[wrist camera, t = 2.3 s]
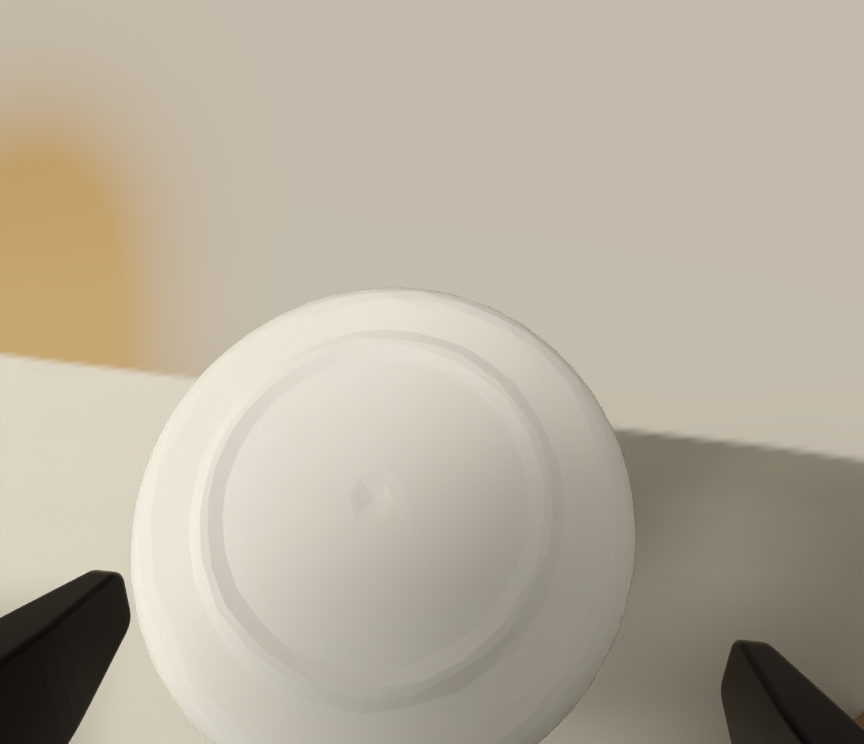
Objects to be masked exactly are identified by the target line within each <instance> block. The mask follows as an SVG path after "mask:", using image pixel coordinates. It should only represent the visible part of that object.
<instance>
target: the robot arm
mask: <svg viewBox="0 0 864 744" xmlns="http://www.w3.org/2000/svg"><path fill="white" fill-rule="evenodd" d="M129 624H130V608H129V603H128V598H127V593H126V588H125V583H124V579H123V577H122V576H121V575H120V573H117V572H111V571H102V570H93V571H90V572H88V573H86V574H84V575H82V576H80V577H78V578H76V579H74V580H72V581H70V582H68V583H66V584H65V585H63V586H61V587H59V588H57V589H55V590H53V591H51V592H49V593H47V594H45V595H43V596H41V597H39V598H38V599H36V600H34V601H32V602H30V603H28V604H26V605H24V606H22V607H20V608H18V609H16V610H14V611H12V612H11V613H9V614H7V615H5V616H3V617H1V618H0V744H68V743H69V742H70V740H71V738H72V737H73V735H74V733H75V732H76V730H77V728H78V726H79V724H80V723H81V721H82V719H83V717H84V715H85V713H86V711H87V709H88V707H89V705H90V703H91V701H92V700H93V698H94V696H95V694H96V692H97V690H98V688H99V686H100V684H101V682H102V680H103V678H104V676H105V674H106V672H107V670H108V668H109V666H110V664H111V662H112V660H113V658H114V656H115V654H116V652H117V650H118V648H119V646H120V644H121V642H122V640H123V638H124V636H125V634H126V632H127V630H128V627H129ZM721 696H722V703H723V707H724V712H725V716H726V721H727V725H728V730H729V734H730V739H731V743H732V744H864V729H863V728H862V727H861V726H860V725H859V724H857V723H856V722H855V721H854V720H853V719H852V718H851V717H850V716H849V715H847V714H846V713H845V712H844V711H843V710H842V709H841V708H840V707H839V706H837V705H836V704H835V703H834V702H833V701H832V700H831V699H830V698H829V697H827V696H826V695H825V694H824V693H823V692H822V691H821V690H820V689H819V688H817V687H816V686H815V685H814V684H813V683H812V682H811V681H810V680H809V679H807V678H806V677H805V676H804V675H803V674H802V673H801V672H800V671H799V670H797V669H796V668H795V667H794V666H793V665H792V664H791V663H790V662H789V661H787V660H786V659H785V658H784V657H783V656H782V655H781V654H780V653H779V652H777V651H776V650H775V649H774V648H773V647H772V646H770V645H769V644H767V643H764V642H757V641H748V640H737V641H735V642H734V643H733V645H732V647H731V651H730V654H729V658H728V661H727V665H726V668H725V672H724V675H723V679H722V684H721Z"/></svg>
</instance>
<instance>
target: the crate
mask: <svg viewBox="0 0 864 744" xmlns="http://www.w3.org/2000/svg"><path fill="white" fill-rule="evenodd" d="M855 722H856V723H857V724H859V725H860V726H861V727H862V728H863V729H864V714H863V715H861V716H860V717H859V718H858V719H857V720H855Z"/></svg>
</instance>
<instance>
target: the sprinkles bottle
mask: <svg viewBox="0 0 864 744" xmlns="http://www.w3.org/2000/svg"><path fill="white" fill-rule="evenodd" d="M635 541H636V531H635V519H634V507H633V498H632V492H631V486H630V481H629V475H628V472H627V468H626V465H625V461H624V458H623V455H622V451H621V448H620V446H619V443H618V440H617V438H616V435H615V433H614V430H613V428H612V427H611V425H610V423H609V421H608V419H607V417H606V415H605V413H604V411H603V409H602V408H601V406H600V404H599V403H598V401H597V400H596V398H595V396H594V395H593V393H592V391H591V390H590V389H589V387H588V386H587V385H586V384H585V382H584V381H583V380H582V379H581V377H580V376H579V375H578V373H577V372H576V371H575V370H574V368H573V367H572V366H571V365H570V364H569V363H568V362H566V360H565V359H564V358H563V357H561V356H560V354H559V353H558V352H557V351H556V350H555V349H554V348H552V347H551V346H550V345H549V344H548V343H546V342H545V341H544V340H543V339H541V338H540V337H539V336H538V335H536V334H535V333H533V332H532V331H531V330H529V329H528V328H527V327H525V326H524V325H523V324H521V323H519V322H517V321H515V320H513V319H512V318H510V317H508V316H506V315H505V314H503V313H501V312H500V311H498V310H495V309H493V308H491V307H487V306H485V305H482V304H479V303H476V302H474V301H470V300H468V299H465V298H462V297H459V296H456V295H452V294H447V293H443V292H438V291H431V290H423V289H413V288H376V289H365V290H358V291H351V292H344V293H340V294H336V295H332V296H329V297H325V298H322V299H318V300H315V301H311V302H309V303H306V304H304V305H302V306H300V307H297V308H295V309H293V310H290V311H288V312H286V313H283V314H281V315H279V316H277V317H276V318H274V319H272V320H270V321H269V322H267V323H265V324H264V325H262V326H260V327H259V328H257V329H255V330H254V331H252V332H250V333H249V334H247V335H246V336H245V337H244V338H242V339H241V340H240V341H239V342H237V343H236V344H235V345H233V346H232V347H231V348H230V349H228V350H227V351H226V352H225V353H224V354H223V355H222V356H220V357H219V358H218V359H217V360H216V361H215V362H214V363H213V364H212V365H210V366H209V368H208V369H207V370H206V371H205V372H204V373H203V374H202V375H201V376H200V377H199V378H198V380H197V381H196V382H195V383H194V385H193V386H192V387H191V388H190V389H189V391H188V392H187V393H186V394H185V396H184V397H183V398H182V400H181V401H180V403H179V404H178V406H177V407H176V409H175V410H174V411H173V413H172V415H171V417H170V418H169V420H168V422H167V423H166V425H165V427H164V429H163V431H162V433H161V435H160V437H159V439H158V441H157V443H156V445H155V447H154V449H153V451H152V454H151V456H150V459H149V462H148V465H147V468H146V470H145V473H144V476H143V479H142V483H141V487H140V491H139V495H138V498H137V502H136V507H135V514H134V521H133V528H132V536H131V581H132V587H133V592H134V598H135V604H136V611H137V616H138V621H139V625H140V628H141V631H142V634H143V637H144V640H145V643H146V646H147V649H148V652H149V654H150V657H151V659H152V661H153V664H154V666H155V669H156V671H157V672H158V674H159V676H160V678H161V680H162V682H163V684H164V685H165V687H166V689H167V690H168V692H169V693H170V695H171V696H172V697H173V699H174V700H175V702H176V703H177V705H178V706H179V707H180V709H181V710H182V711H183V712H184V714H185V715H186V716H187V717H188V719H189V720H190V721H191V722H192V724H193V725H194V726H195V727H196V728H197V729H198V730H199V731H200V732H201V733H202V734H203V735H204V736H205V737H206V738H207V739H208V740H209V741H210V742H211V743H212V744H538V743H539V742H540V741H541V740H543V739H544V738H545V737H546V736H547V735H548V734H549V733H550V732H551V731H552V730H553V729H554V728H555V727H556V726H557V725H558V724H559V723H560V722H561V721H562V720H563V719H564V718H565V717H566V716H567V715H568V714H569V712H570V711H571V710H572V709H573V708H574V707H575V705H576V704H577V702H578V701H579V700H580V698H581V697H582V696H583V694H584V693H585V691H586V690H587V689H588V687H589V686H590V684H591V683H592V681H593V680H594V678H595V676H596V674H597V672H598V671H599V669H600V667H601V665H602V663H603V662H604V660H605V658H606V656H607V654H608V653H609V651H610V649H611V647H612V645H613V642H614V640H615V637H616V635H617V632H618V630H619V627H620V624H621V620H622V617H623V613H624V610H625V606H626V603H627V599H628V595H629V590H630V585H631V581H632V576H633V569H634V555H635Z"/></svg>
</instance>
